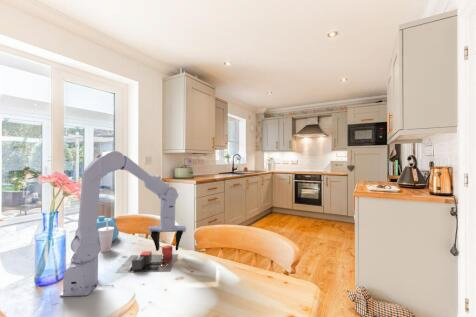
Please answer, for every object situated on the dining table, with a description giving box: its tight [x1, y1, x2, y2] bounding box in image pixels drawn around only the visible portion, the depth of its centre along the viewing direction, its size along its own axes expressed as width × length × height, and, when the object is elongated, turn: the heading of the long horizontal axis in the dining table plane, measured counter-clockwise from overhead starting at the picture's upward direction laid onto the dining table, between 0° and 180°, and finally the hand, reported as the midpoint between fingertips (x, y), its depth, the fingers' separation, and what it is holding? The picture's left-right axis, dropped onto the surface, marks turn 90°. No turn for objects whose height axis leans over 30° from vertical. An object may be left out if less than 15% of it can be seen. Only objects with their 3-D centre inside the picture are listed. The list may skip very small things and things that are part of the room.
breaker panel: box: [114, 253, 179, 274], centre depth 87 cm, size 15×19×2 cm
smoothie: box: [98, 219, 114, 253], centre depth 102 cm, size 6×6×14 cm
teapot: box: [96, 215, 120, 244], centre depth 113 cm, size 20×20×13 cm
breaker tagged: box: [139, 250, 153, 264], centre depth 86 cm, size 3×3×4 cm
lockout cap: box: [161, 244, 173, 259], centre depth 93 cm, size 4×4×4 cm
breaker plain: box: [132, 257, 144, 270], centre depth 82 cm, size 3×3×3 cm
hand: (167, 249), depth 93 cm, fingers open, 7 cm apart
